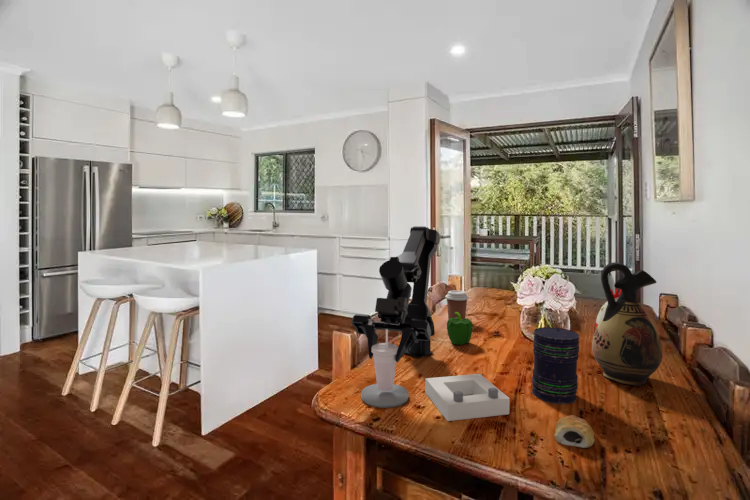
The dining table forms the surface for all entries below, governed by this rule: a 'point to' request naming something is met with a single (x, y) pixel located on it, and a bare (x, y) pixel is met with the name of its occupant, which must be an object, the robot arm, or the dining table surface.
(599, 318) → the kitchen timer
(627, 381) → the ceramic jug
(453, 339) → the bell pepper
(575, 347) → the storage jar
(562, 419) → the pastry
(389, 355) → the smoothie
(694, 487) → the dining table surface
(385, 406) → the coaster
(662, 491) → the dining table surface
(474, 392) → the holder
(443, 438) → the dining table surface
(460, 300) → the coffee cup
